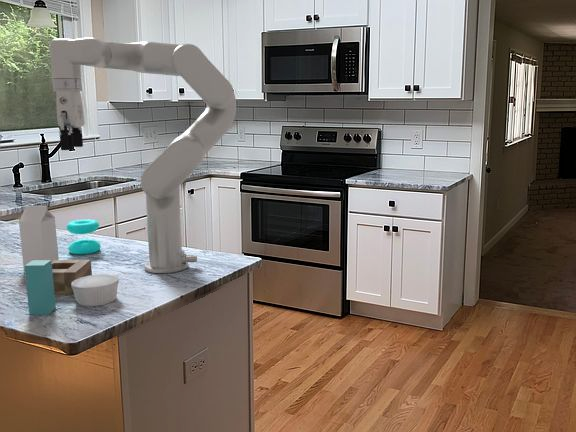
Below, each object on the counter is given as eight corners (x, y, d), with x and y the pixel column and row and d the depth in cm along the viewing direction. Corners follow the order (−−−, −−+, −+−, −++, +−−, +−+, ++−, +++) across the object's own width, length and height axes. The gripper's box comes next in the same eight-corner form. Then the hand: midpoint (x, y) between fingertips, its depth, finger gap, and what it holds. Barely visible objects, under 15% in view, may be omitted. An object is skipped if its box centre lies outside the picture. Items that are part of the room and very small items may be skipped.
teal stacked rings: (84, 217, 207) (105, 220, 201) (86, 246, 209) (107, 250, 203) (59, 222, 198) (80, 226, 193) (62, 253, 200) (83, 257, 195)
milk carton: (45, 272, 178) (39, 208, 174) (23, 271, 180) (17, 207, 176) (59, 266, 185) (53, 203, 181) (38, 265, 187) (32, 203, 183)
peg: (55, 308, 149) (51, 260, 147) (48, 314, 145) (43, 265, 142) (37, 308, 149) (32, 260, 147) (29, 314, 145) (24, 265, 142)
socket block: (92, 280, 170) (90, 259, 169) (77, 294, 159) (75, 272, 157) (49, 280, 171) (47, 260, 169) (30, 295, 159) (28, 272, 158)
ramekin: (65, 301, 154) (63, 280, 153) (105, 290, 162) (104, 271, 161) (86, 311, 146) (84, 290, 145) (128, 300, 154) (126, 280, 153)
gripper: (72, 85, 161) (77, 151, 164) (89, 85, 178) (93, 145, 181) (43, 85, 160) (48, 151, 164) (62, 86, 177) (67, 145, 181)
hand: (72, 148), depth 172 cm, fingers open, 9 cm apart
